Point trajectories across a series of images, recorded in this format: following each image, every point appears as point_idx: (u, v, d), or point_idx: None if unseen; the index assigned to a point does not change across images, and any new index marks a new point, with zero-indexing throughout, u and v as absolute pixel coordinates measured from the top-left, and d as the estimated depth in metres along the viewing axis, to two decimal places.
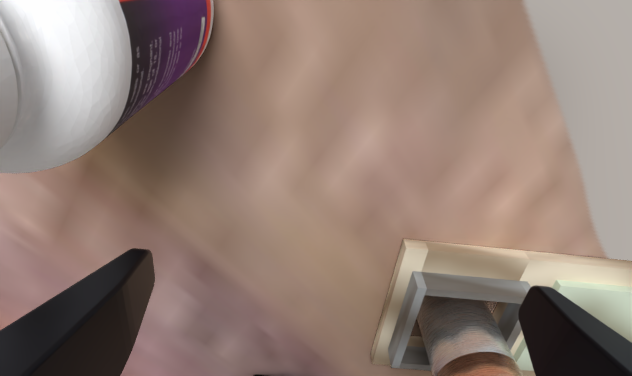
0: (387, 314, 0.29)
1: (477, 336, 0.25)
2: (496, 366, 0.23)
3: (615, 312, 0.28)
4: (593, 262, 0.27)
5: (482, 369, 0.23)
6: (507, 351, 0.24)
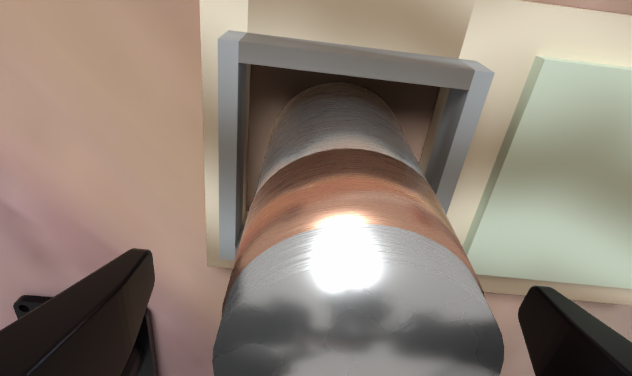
0: (206, 151, 0.15)
1: (340, 131, 0.10)
2: (363, 169, 0.08)
3: None
4: (614, 13, 0.13)
5: (322, 174, 0.08)
6: (410, 163, 0.10)
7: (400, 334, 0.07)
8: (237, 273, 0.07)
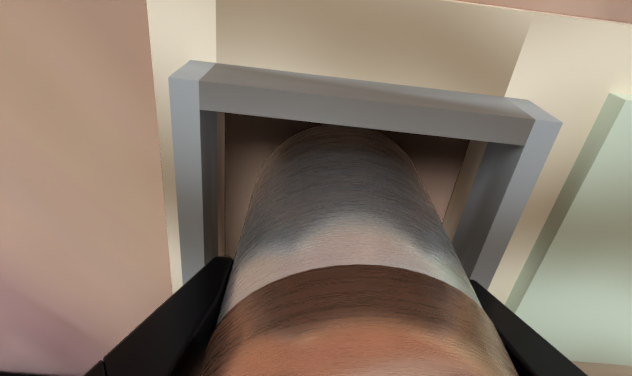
0: (168, 211, 0.11)
1: (346, 222, 0.07)
2: (387, 319, 0.05)
3: None
4: None
5: (318, 330, 0.05)
6: (453, 273, 0.07)
7: None
8: None
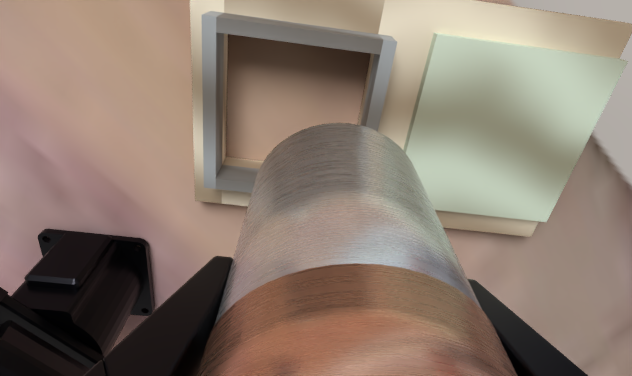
0: (194, 103, 0.20)
1: (345, 221, 0.07)
2: (384, 318, 0.05)
3: (526, 92, 0.19)
4: (488, 2, 0.18)
5: (316, 329, 0.05)
6: (452, 273, 0.07)
7: None
8: None
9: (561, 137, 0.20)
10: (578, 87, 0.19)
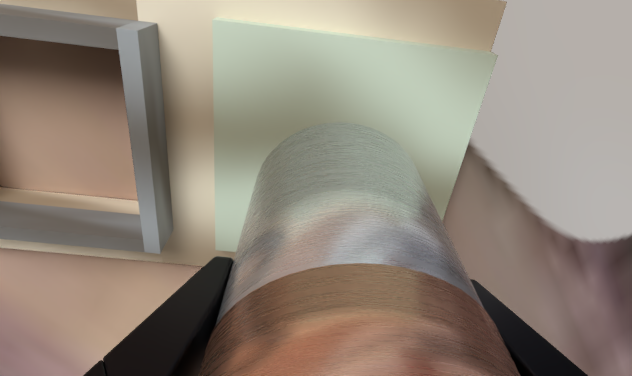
0: None
1: (347, 221, 0.07)
2: (387, 318, 0.05)
3: (361, 100, 0.13)
4: None
5: (318, 329, 0.05)
6: (454, 273, 0.07)
7: None
8: None
9: (423, 162, 0.14)
10: (432, 93, 0.13)
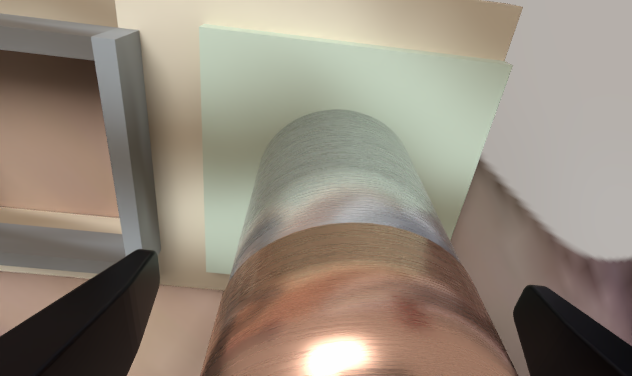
0: None
1: (343, 191, 0.08)
2: (376, 262, 0.06)
3: None
4: None
5: (319, 271, 0.06)
6: (436, 234, 0.08)
7: None
8: None
9: (430, 179, 0.13)
10: (440, 106, 0.12)
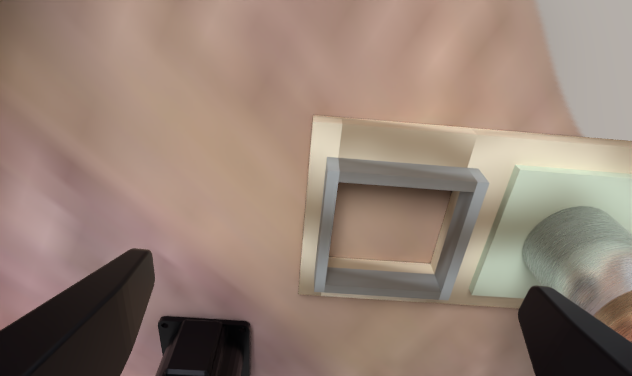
0: (305, 223, 0.23)
1: None
2: None
3: None
4: (562, 139, 0.21)
5: None
6: None
7: None
8: None
9: None
10: None
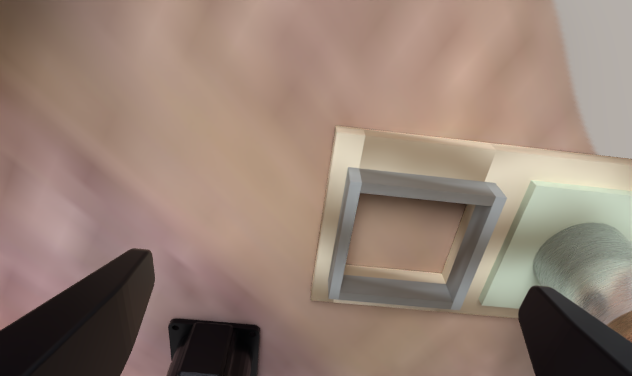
0: (323, 231, 0.23)
1: None
2: None
3: None
4: (577, 157, 0.21)
5: None
6: None
7: None
8: None
9: None
10: None
